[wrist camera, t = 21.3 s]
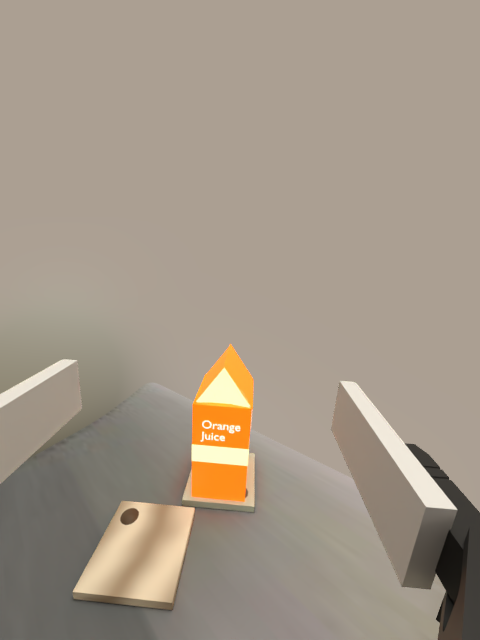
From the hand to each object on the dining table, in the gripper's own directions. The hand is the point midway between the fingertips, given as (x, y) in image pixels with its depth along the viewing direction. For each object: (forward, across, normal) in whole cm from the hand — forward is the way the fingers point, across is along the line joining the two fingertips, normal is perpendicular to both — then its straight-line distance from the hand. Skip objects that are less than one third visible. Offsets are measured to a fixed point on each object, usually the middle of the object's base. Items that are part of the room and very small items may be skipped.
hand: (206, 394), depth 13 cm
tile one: (+11, -8, -28) cm, 31 cm away
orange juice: (+22, 0, -27) cm, 35 cm away
